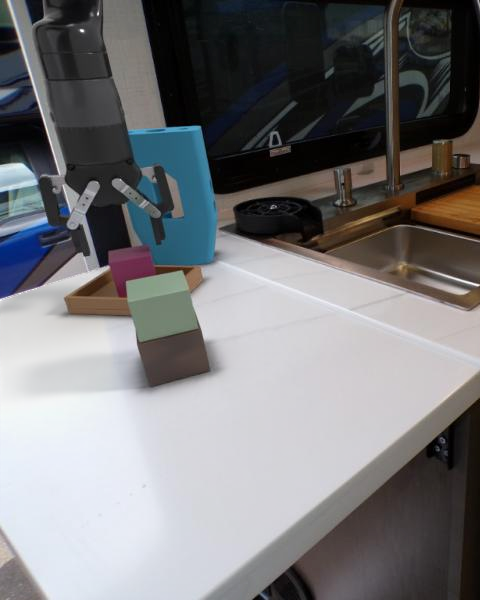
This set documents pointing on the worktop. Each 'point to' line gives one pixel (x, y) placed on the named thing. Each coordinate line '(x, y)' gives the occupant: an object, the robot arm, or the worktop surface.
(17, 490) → the worktop surface
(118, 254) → the mulberry block
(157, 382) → the walnut block
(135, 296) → the sage block
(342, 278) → the worktop surface
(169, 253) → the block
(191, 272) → the tray
